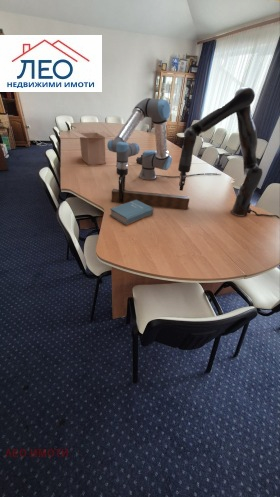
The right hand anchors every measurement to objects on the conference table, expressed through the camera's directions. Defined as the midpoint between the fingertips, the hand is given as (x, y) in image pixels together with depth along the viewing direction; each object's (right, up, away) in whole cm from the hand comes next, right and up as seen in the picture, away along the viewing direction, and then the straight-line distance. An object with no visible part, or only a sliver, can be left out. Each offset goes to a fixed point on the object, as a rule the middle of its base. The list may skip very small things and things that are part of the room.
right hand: (180, 188), depth 150 cm
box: (-78, +53, +87) cm, 128 cm away
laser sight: (-21, +51, +90) cm, 106 cm away
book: (-33, -19, -6) cm, 39 cm away
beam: (-21, -9, +9) cm, 25 cm away
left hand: (-41, -6, +10) cm, 43 cm away
